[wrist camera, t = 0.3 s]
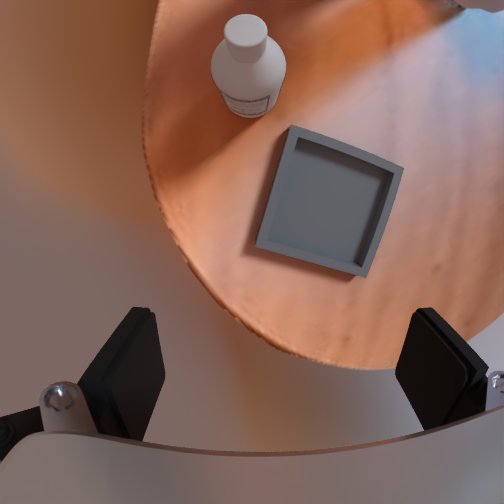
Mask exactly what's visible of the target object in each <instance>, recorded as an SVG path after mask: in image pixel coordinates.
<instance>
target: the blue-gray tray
mask: <svg viewBox="0 0 504 504" xmlns="http://www.w3.org/2000/svg"><path fill="white" fill-rule="evenodd" d="M403 170H404V168H403V167H401V166H398V165H396V164H394V163H392V162H390V161H387V160H385V159H383V158H380V157H378V156H376V155H373V154H371V153H369V152H366V151H364V150H361V149H359V148H356V147H354V146H351V145H348V144H346V143H343V142H341V141H338V140H335V139H332V138H330V137H327V136H324V135H321V134H318V133H315V132H312V131H310V130H306V129H303V128H300V127H297V126H294V125H291V126H290V127H289V129H288V132H287V136H286V139H285V143H284V146H283V149H282V153H281V156H280V159H279V163H278V166H277V169H276V173H275V176H274V180H273V183H272V186H271V190H270V193H269V196H268V200H267V203H266V207H265V210H264V213H263V217H262V220H261V223H260V227H259V230H258V234H257V237H256V240H255V247H257V248H261V249H264V250H268V251H271V252H275V253H279V254H282V255H286V256H289V257H293V258H297V259H300V260H304V261H307V262H311V263H315V264H318V265H322V266H325V267H329V268H332V269H336V270H340V271H343V272H347V273H350V274H354V275H357V276H361V277H364V278H366V277H367V274H368V272H369V269H370V267H371V264H372V262H373V259H374V257H375V254H376V251H377V249H378V246H379V243H380V241H381V238H382V235H383V232H384V229H385V227H386V224H387V221H388V218H389V215H390V212H391V209H392V206H393V203H394V200H395V197H396V193H397V190H398V187H399V184H400V180H401V177H402V173H403Z"/></svg>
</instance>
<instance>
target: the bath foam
mask: <svg viewBox="0 0 504 504" xmlns="http://www.w3.org/2000/svg"><path fill="white" fill-rule="evenodd" d="M267 33H268V31H267V26H266V24H265V22H264V21H263V20H262V19H261V18H259V17H257V16H255V15H251V14H241V15H237V16H235V17H233V18H231V19H230V20H229V21H228V22H227V23H226V25H225V27H224V37H225V39H224V40H222V41H221V42H220V43H219V45H218V46H217V47H216V49H215V51H214V53H213V55H212V59H211V74H212V78H213V80H214V82H215V84H216V86H217V88H218V90H219V92H220V94H221V96H222V98H223V100H224V101H225V103H226V105H227V106H228V108H229V109H230V110H231V111H232V112H234V113H235V114H237V115H239V116H241V117H246V118H255V117H259V116H262V115H264V114H266V113H267V112H269V111H270V110H271V109H272V108H273V106H274V105H275V103H276V100H277V97H278V95H279V92H280V90H281V87H282V84H283V81H284V78H285V74H286V60H285V56H284V54H283V51H282V50H281V48H280V46H279V45H278V44H277V43H276V42H275V41H274V40H273V39H272V38H270V37H269V36H267Z"/></svg>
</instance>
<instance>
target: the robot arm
mask: <svg viewBox="0 0 504 504" xmlns="http://www.w3.org/2000/svg"><path fill="white" fill-rule="evenodd" d="M488 368H489V367H488V366H487V364H486V363H485V362H484V361H483V360H482V359H481V358H480V357H479V356H478V354H477V353H476V352H475V351H474V350H473V349H472V348H471V347H470V346H469V345H468V344H467V343H466V342H465V340H464V339H463V338H462V337H461V336H460V335H459V334H458V333H457V332H456V331H455V330H454V329H453V328H452V327H451V326H450V325H449V324H448V323H447V322H446V321H445V320H444V319H443V318H442V317H441V316H440V315H439V314H438V313H437V312H436V311H435V310H434V309H433V308H431V307H429V308H418V309H417V310H416V312H414V313H413V314H412V317H411V321H410V324H409V328H408V331H407V335H406V338H405V341H404V345H403V348H402V351H401V354H400V357H399V360H398V363H397V366H396V369H395V375H396V378H397V380H398V382H399V383H400V385H401V387H402V389H403V391H404V392H405V394H406V396H407V398H408V400H409V402H410V404H411V405H412V408H413V409H414V411H415V413H416V415H417V417H418V419H419V421H420V423H421V425H422V427H423V429H424V431H421V432H418V433H414V434H409V435H405V436H401V437H396V438H392V439H387V440H382V441H376V442H371V443H365V444H358V445H352V446H344V447H336V448H327V449H317V450H304V451H284V452H283V451H282V452H239V451H218V450H205V449H195V448H186V447H177V446H169V445H162V444H155V443H149V442H143V441H142V440H143V437H144V435H145V432H146V429H147V426H148V424H149V420H150V418H151V415H152V413H153V410H154V407H155V404H156V402H157V399H158V396H159V394H160V391H161V388H162V386H163V383H164V380H165V369H164V363H163V358H162V353H161V347H160V342H159V336H158V330H157V323H156V318H155V314H154V313H153V312H150V309H149V308H142V307H133V308H131V310H130V311H129V312H128V314H127V315H126V316H125V318H124V319H123V320H122V322H121V323H120V324H119V326H118V327H117V328H116V330H115V331H114V332H113V334H112V335H111V337H110V338H109V339H108V340H107V342H106V343H105V345H104V346H103V347H102V349H101V350H100V351H99V353H98V354H97V355H96V357H95V358H94V360H93V361H92V362H91V364H90V365H89V367H88V368H87V370H86V371H85V372H84V374H83V375H82V377H81V379H80V380H79V381H78V383H77V384H75V383H72V382H67V381H62V382H56V383H54V384H51V385H50V386H48V387H47V388H45V389H44V390H43V392H42V393H41V395H40V398H39V404H40V406H37V407H34V408H31V409H28V410H24V411H21V412H17V413H14V414H10V415H7V416H3V417H0V504H504V371H495V372H492V373H491V374H490V375H489V377H488V378H487V377H486V375H485V374H486V372H487V370H488Z"/></svg>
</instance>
